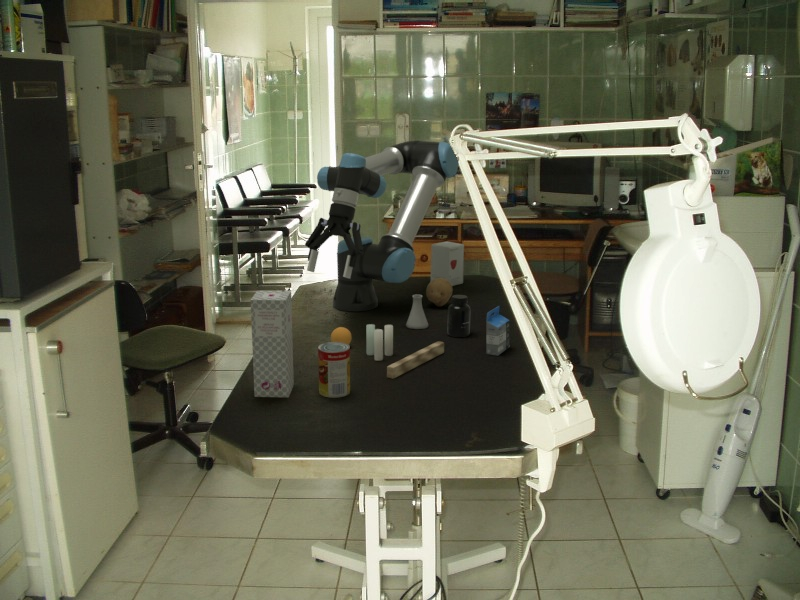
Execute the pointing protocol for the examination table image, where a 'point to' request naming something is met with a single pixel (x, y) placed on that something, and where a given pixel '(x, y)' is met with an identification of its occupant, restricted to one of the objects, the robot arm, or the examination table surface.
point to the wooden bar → (415, 359)
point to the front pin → (370, 339)
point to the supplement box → (447, 262)
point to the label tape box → (497, 333)
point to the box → (272, 343)
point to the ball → (341, 335)
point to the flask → (417, 314)
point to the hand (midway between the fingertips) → (328, 274)
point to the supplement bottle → (459, 317)
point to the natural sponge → (439, 291)
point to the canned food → (334, 369)
